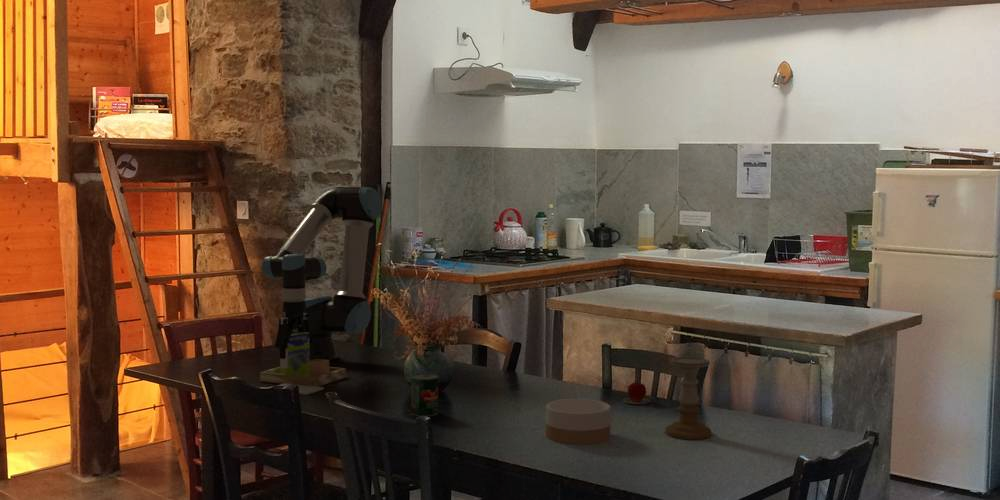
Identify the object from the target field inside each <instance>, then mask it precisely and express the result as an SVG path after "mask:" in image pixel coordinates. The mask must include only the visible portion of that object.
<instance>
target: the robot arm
mask: <svg viewBox="0 0 1000 500" xmlns="http://www.w3.org/2000/svg"><path fill="white" fill-rule="evenodd" d="M382 204H383V203H382V200H381V196H380V194H379V193H378V191H377V190H376V189H375V188H373V187H368V186H335V187H332V188H330V189H328V190H326V191H325V192H323V193H321V194H320V196H318V197H317V198H316V199H315V200H314V201H313V202H312V203H311V205H310V206H309V207H308V213H307V214H306V215H305V216H304V217H303V219H302V221H300V223H299V224H298V225H297V227H296V228H295V229H294V231H293V232H292V233H291V234H290V235H289V237H288V239H286V241H285V242H284V243H283V245H282V246H281V248H279V250H278V251H277V252H276V254H275V255H270V256H269V255H267V256H265V257H264V258H263V260H262V262H261V271H262V274H263V275H264V276H265V277H267V278H272V279H273V278H274V279H282V299H283V301H282V312H283V313H284V314H285V316H284V317H283V318H282V317H279V318H278V329H277V334H276V339H275V345H274V348H276V349H277V350H279V367H280V368H286V369H288V349H286V348H287V345H288V342H289V339H290V336H291V334H292V331H295V328H297V329H298V330H299V332H309V333H310V334H309V357H310V361H311V360H314V359H324V360H329V361H333V360H336V359H337V358H338V350H337V349H336V348H337V347H336V346H335V345H336V344H335V341H334V339H333V333H344V334H345V333H346V334H351V335H352V334H360V333H362V332H363V331H365V330H366V329H367V327H368V325H369V323H370V320H371V315H372V309H371V306H370V304H369V303H368V302H367V301H366V300H367V298H366V295H365V294H364V292H363V289H364V281H365V271H366V261H367V252H368V243H369V241H368V240H369V232H370V229H371V228H372V227H373V226H374V224H375V220H376V219H379V218H380V215H381V214H382V208H383V205H382ZM336 219H342V223H343V225H344V226H345V231H344V241H343V249H342V259H341V267H340V268H341V269H340V276H339V277H340V279H339V287H338V291H337V292H336V293H334V294H333V297H332V295H319V296H317V295H316V296H311V297H306V281H311V280H318V279H321V278H323V277H324V276H325V274H326V272H327V270H328V269H327V264H326V261H325V260H324V259H323V258H322V257H317V256H316V257H315V256H311V257H305V255H304V254H305V252H306V251H307V249H308V248H309V247H310V246H311V245H312V243H313V241H314V240H315V239H316V238H317V237H318V235H319V234H320V232H322V230H323V228H325V226H327V225H329V224H331V222H333V220H336ZM285 336H287V337H285Z"/></svg>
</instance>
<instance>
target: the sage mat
mask: <svg viewBox="0 0 1000 500" xmlns="http://www.w3.org/2000/svg"><path fill="white" fill-rule="evenodd" d="M287 384H289V383H284V384H279V385H277V386H284V385H287ZM297 385H298V384H297ZM298 386H299V393H300V394H299V395H305V396H308V395H310V394H313V393H317V392H320V391H323V390H324V387H323V386H318V387H316V386H307V385H298Z"/></svg>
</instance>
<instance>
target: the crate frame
mask: <svg viewBox="0 0 1000 500" xmlns="http://www.w3.org/2000/svg"><path fill="white" fill-rule="evenodd" d="M345 378H347V368H344V367H337V366H336V367H335V366H334V367H333V366H329V373H327V374H324V375H321V376H317V377H310V376H309V377H305V376H296V375H287V374H280V366H278V367H274V368H270V369H267V370H264V371H260V372H259V379H260V380H259V381H260V382H266V383H272V384H273V383H274V384H279V385H281V384H284V383H289V384H298V385H307V386H316V387H322V386H324V385H326V384H329V383H333V382H336V381H339V380H341V379H345Z"/></svg>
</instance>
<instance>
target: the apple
mask: <svg viewBox="0 0 1000 500" xmlns="http://www.w3.org/2000/svg"><path fill="white" fill-rule="evenodd" d="M646 393H647V389H646V385H645V384H644V383H641V382H632V383H631V384H629V385H628V387H627V395H628V397H627V398H626V397H625V398H623V402H624V403H627V404H630V403H631V405H643V404H648V403H650V400H649V399H647V398H645V397H646V395H647V394H646ZM628 399H631V400H632V401H633V402H640V401H642V400H645V401H646V402H643V403H632V402H627V400H628Z"/></svg>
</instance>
